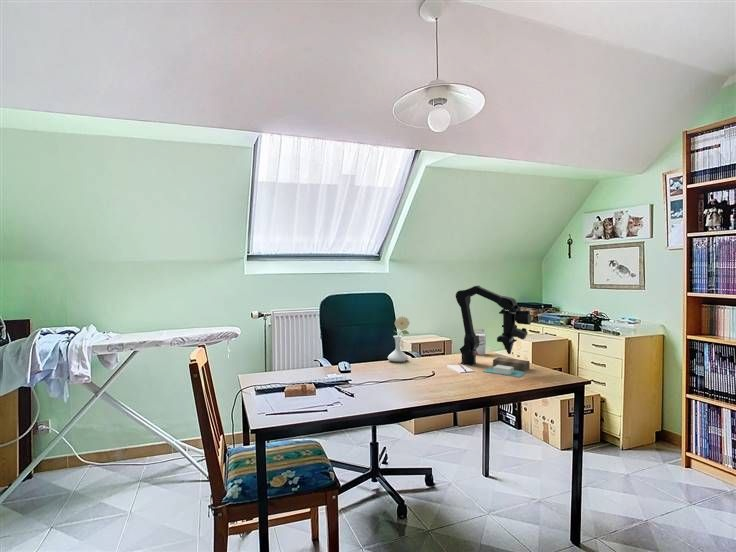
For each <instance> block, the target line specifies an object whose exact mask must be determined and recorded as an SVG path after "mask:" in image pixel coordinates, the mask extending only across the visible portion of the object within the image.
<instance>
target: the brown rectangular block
mask: <svg viewBox="0 0 736 552" xmlns="http://www.w3.org/2000/svg"><path fill="white" fill-rule="evenodd" d="M496 365H503V366H510V367H514V370H518V371H525V372H527V371H529V370H530V360H526V359H517V358H509V357H500V356H498V357H496V358H494V359H492V367H494V366H496Z"/></svg>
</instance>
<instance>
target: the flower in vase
mask: <svg viewBox="0 0 736 552" xmlns="http://www.w3.org/2000/svg"><path fill="white" fill-rule="evenodd" d="M394 325H395V328H396V329H398V330H400V333H399V332H398V331H395V330H394V332H395V333H396V334H398V335H396V334H395V335H393V336H392V337H393V338H394V343H395V349H394V350H393V351H392V352H391V353H390V354H389V355H388V356H387V359H388V360H389V361H391V362H396V363H399V362H406V361H407V360H408V359H409V356H408V355H407V354H406V353H405V352H403V351H402V350H401V346H400V345H401V339H402V337H403V336H402V335H401V334H403V335H410V333H409V331H408V330H406V329H408V328H409V327H408V326H410V320H409V318H407V317H406V316H399V317H398V318H396V319H395V321H394Z"/></svg>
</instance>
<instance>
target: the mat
mask: <svg viewBox="0 0 736 552" xmlns="http://www.w3.org/2000/svg"><path fill="white" fill-rule="evenodd" d="M482 372H483V373H488V374H495V375H501V376H507V377H508V376H509V377H514V378H515V377H516V378H521V377H522V376H524V375H525V374H526V373H527V371H526V372H525V371H518V370H514V372H513V373H511V374H510V375H509V374H502V373H495V372H493V366H490V367H487V368H486V369H484V370H483V371H482Z"/></svg>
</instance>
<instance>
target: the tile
mask: <svg viewBox="0 0 736 552" xmlns="http://www.w3.org/2000/svg"><path fill="white" fill-rule="evenodd" d="M492 367H493V366H492ZM493 372H495V373H502V374H509V375H510V374H511V373H513V372H514V367H510V366H503V365H496V366H494V367H493Z"/></svg>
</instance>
